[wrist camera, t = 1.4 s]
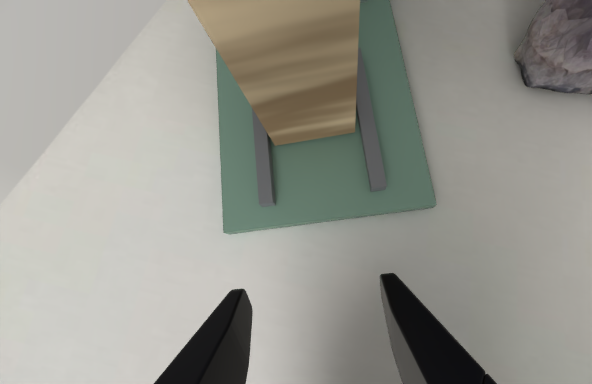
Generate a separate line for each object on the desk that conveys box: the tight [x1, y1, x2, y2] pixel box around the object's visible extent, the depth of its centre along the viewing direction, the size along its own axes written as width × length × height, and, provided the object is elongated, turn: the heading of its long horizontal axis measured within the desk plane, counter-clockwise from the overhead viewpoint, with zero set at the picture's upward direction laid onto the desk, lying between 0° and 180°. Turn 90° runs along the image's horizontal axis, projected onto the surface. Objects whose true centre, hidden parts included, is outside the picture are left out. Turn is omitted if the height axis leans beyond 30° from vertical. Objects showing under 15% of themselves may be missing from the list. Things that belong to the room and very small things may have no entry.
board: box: [216, 0, 437, 234], centre depth 25 cm, size 24×15×2 cm, turn 6°
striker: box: [188, 0, 360, 146], centre depth 15 cm, size 3×6×16 cm, turn 96°
